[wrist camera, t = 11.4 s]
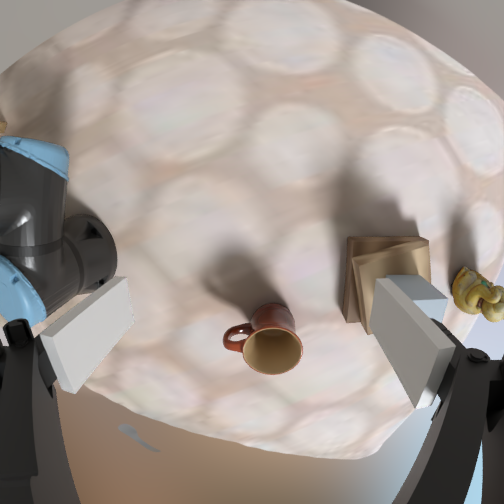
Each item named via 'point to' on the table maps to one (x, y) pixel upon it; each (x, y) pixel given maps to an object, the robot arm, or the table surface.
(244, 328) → the mug
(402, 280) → the block
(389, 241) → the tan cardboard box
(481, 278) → the decorative figurine
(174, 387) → the table surface
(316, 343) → the table surface
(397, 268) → the slab upper
